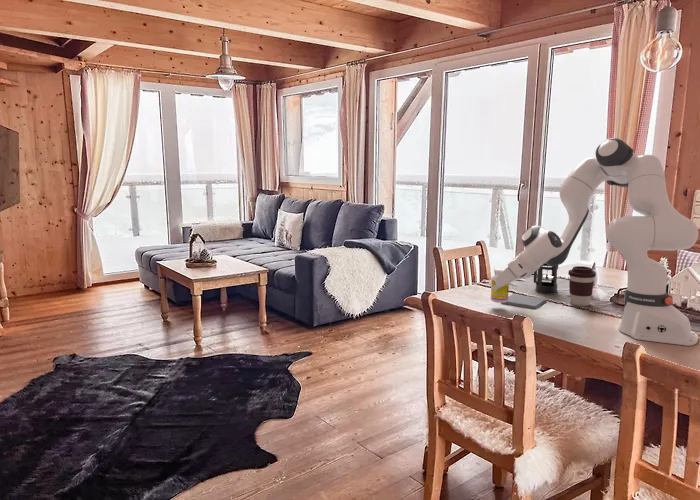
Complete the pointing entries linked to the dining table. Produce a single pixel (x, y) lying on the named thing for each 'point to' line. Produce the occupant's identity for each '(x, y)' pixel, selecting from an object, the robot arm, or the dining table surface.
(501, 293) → the supplement bottle
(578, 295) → the coffee cup
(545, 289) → the french press
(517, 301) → the mat
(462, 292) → the dining table surface
